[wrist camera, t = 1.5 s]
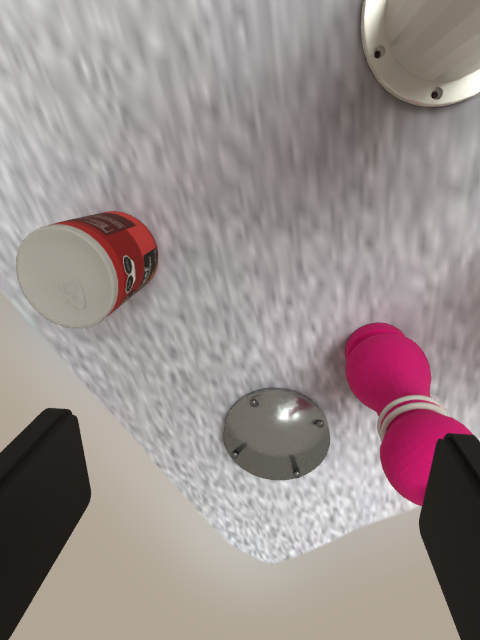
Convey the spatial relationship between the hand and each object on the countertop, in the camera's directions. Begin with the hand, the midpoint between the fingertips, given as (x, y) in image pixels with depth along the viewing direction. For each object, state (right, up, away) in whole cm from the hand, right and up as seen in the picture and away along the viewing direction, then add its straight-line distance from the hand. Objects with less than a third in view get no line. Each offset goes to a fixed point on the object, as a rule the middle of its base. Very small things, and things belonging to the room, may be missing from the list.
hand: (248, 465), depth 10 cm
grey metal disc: (+4, -9, +34) cm, 36 cm away
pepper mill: (+14, +1, +29) cm, 32 cm away
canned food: (-12, +11, +28) cm, 33 cm away
